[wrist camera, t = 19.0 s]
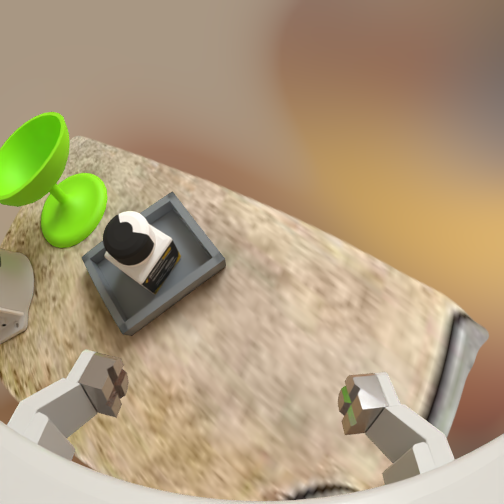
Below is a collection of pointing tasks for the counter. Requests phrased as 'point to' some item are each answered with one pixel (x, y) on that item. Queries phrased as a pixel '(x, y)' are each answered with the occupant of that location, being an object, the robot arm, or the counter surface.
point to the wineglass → (50, 181)
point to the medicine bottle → (140, 250)
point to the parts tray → (178, 281)
